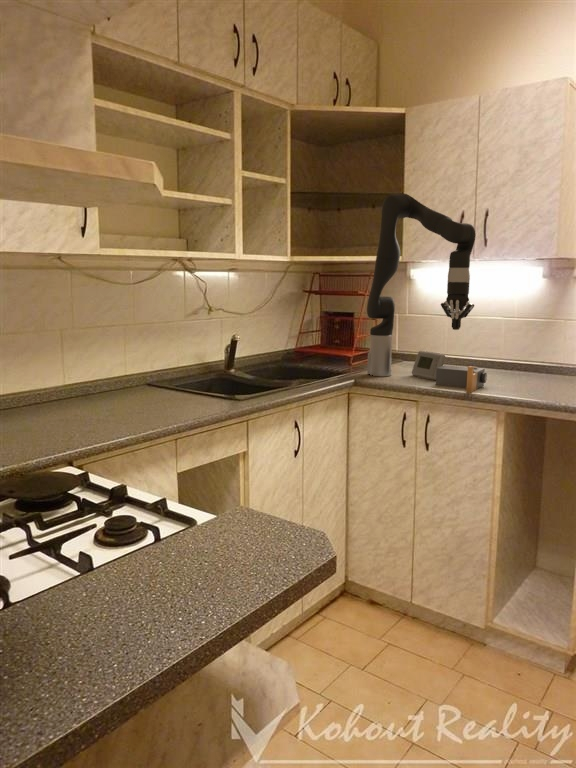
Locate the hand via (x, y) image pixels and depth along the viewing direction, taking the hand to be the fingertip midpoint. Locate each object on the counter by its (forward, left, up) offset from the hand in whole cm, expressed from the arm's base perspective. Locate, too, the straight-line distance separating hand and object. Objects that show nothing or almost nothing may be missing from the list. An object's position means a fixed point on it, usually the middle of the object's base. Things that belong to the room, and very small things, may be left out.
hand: (455, 329), depth 218 cm
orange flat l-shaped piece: (+6, +5, -23) cm, 24 cm away
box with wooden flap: (-2, +14, -23) cm, 27 cm away
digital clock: (-19, +24, -23) cm, 38 cm away
